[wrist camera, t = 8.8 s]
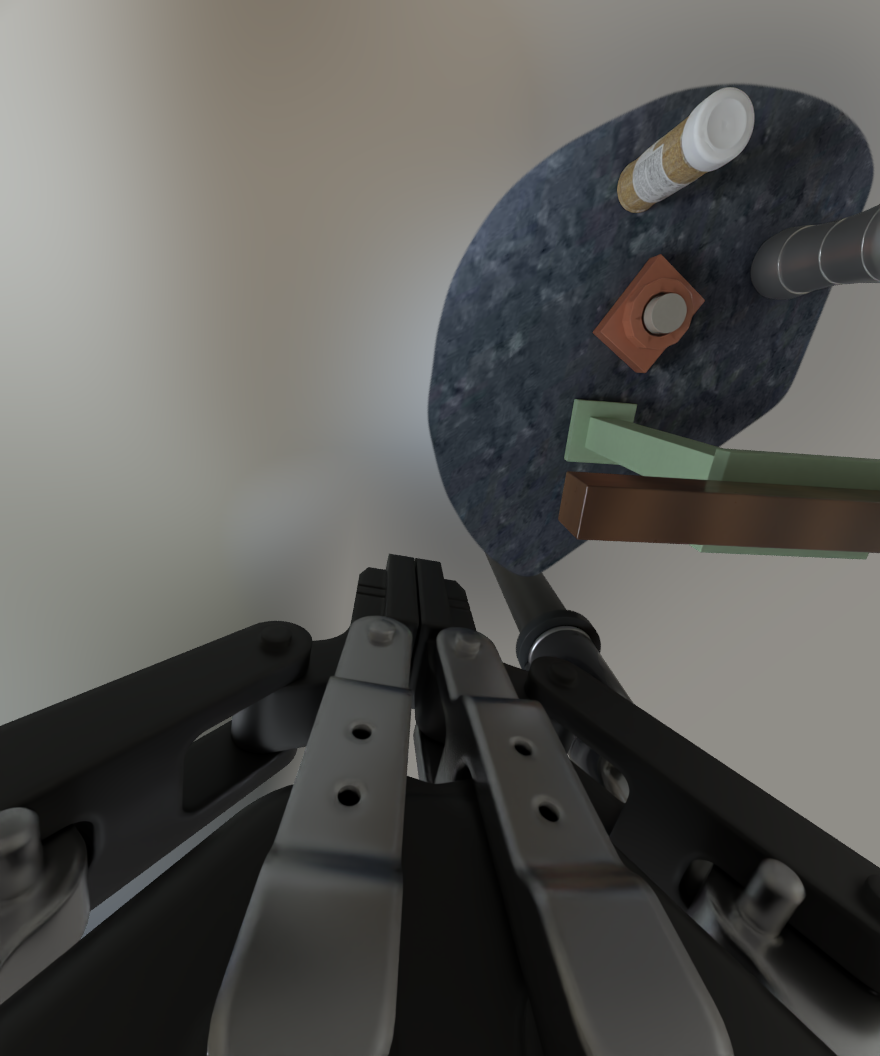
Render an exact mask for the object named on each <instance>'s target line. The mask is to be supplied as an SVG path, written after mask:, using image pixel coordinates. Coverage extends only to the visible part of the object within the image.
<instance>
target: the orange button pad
mask: <svg viewBox="0 0 880 1056" xmlns="http://www.w3.org/2000/svg"><path fill="white" fill-rule="evenodd" d="M668 293H675V294H678V295H680V296H681V297H682V298H683V299H684V301H685V303H686V307H687V313H686V317H685V320H684V322H683V323H682V325H681V326H680V327H679V328H678V329H676V330H675V331H673V332H670V333H663V334H654V333H651V332H650V331H648V330H647V329H646V327H645V325H644V322H643V314H644V310H645V308H646V306H647V304H648V303H649V302H650V301H651V300H652V299H653V298H655V297H657V296H660V295H664V294H668ZM704 301H705V300H704V299H703V298H702V296H701V295H700V294H699V293H698V292H697V291H696V290H695V289H694V288H693V287H692V286H691V285H690V284H689V283H688V282H687V281H686V280H685V279H684V278H683V277H682V276H681V275H680V274H679V273H678V271H677V270H676V269H675V268H674V267H673V266H672V265H671V264H670V263H669V262H668V261H667V260H666V259H665V258H664V257H663V256H662V255H661V254H660V255H657V256H655V257H652V258H650V259H649V260H648V261H647V263H646V264H645V265H644V267H643V268H642V269H641V270H640V272H639V273H638V274H637V276H636V277H635V278H634V279H633V281H632V282H631V283H630V285H629V286H628V287H627V288H626V290H625V291H624V292H623V294H622V295H621V296H620V298H619V299H618V300H617V301H616V303H615V304H614V305H613V307H612V308H611V309H610V310H609V312H608V313H607V314H606V316H605V317H604V318H603V320H602V321H601V322H600V323H599V325H598V326H597V327H596V329H595V330H594V331H593V334H594V335H596V336H597V337H598V338H599V339H600V340H601V341H602V342H603V343H604V344H605V345H607V346H608V347H609V348H610V349H611V350H612V351H613V352H614V353H615V354H616V355H617V356H619V357H620V358H621V359H622V360H623V361H624V362H625V363H626V364H627V365H628V366H629V367H631V368H632V369H633V370H634V371H635V372H638V373H646V372H647V371H648V369H649V368H650V367H651V366H652V364H653V363H654V362H655V361H656V360H657V358H658V357H659V356H660V355H661V354H662V352H663V351H664V350H665V349H666V347H668V346H670V345H673V344H675V343H676V342H678V341H679V339H680V338H681V337H682V336H683V335H684V333H685V332H686V331H687V330H688V329H689V326H690V322H691V318H692V316H693V315H694V313H695V312H696V311H697V310H698V309H699V307H700V306H701V305H702V304H703V303H704Z"/></svg>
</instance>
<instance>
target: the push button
mask: <svg viewBox="0 0 880 1056" xmlns="http://www.w3.org/2000/svg"><path fill="white" fill-rule="evenodd" d="M686 313H687V307H686V303H685V301H684V299H683V298H682V297H681V296H680V295H678V294H675V293H668V294H664V295H660V296H657V297H655V298H653V299H652V300H651V301H650V302H649V303H648V304H647V306H646V308H645V310H644V314H643V322H644V325H645V327H646V329H647V330H648V331H650V332H651V333H654V334H663V333H670V332H673V331H675V330H676V329H678V328H679V327H680V326H681V325H682V323H683V322H684V320H685V317H686Z"/></svg>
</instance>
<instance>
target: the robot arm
mask: <svg viewBox="0 0 880 1056" xmlns="http://www.w3.org/2000/svg"><path fill="white" fill-rule="evenodd" d="M524 666H525V669H526V670H523V669H520V668H517V667H513V666H511V665H508V664H506V663H503V662H502V660H501V658H500V656H499V653H498V651H497V649H496V647H495V645H494V644H493V642H492V641H491V640H490V639H489V638H488V637H486V636H485V635H483V634H481V633H479V632H477V631H476V628H475V624H474V621H473V617H472V613H471V611H470V606H469V603H468V599H467V596H466V592H465V590H464V589H463V588H462V587H461V586H460V585H459V584H458V583H457V582H456V581H453V580H447V579H444V577H443V572H442V567H441V563H440V562H437V561H430V560H425V559H418V558H415V561H414V558H412V557H407V556H400V555H393V554H389V556H388V561H387V566H386V570H383V569H377V568H370V567H368V568H367V569H366V570H364V571H363V572H362V573H361V574H360V575H359V581H358V586H357V592H356V598H355V603H354V609H353V614H352V620H351V625H350V627H349V628H348V630H347V631H346V632H344V633H343V634H341V635H339V636H337V637H334V638H331V639H327V640H319V641H312V637H311V635H310V634H309V632H307V631H306V630H305V629H304V628H302V627H301V626H298V625H296V624H293V623H290V622H284V621H268V622H262V623H258V624H255V625H252V626H250V627H247V628H245V629H242V630H240V631H237V632H235V633H232V634H230V635H227V636H225V637H222V638H220V639H217V640H215V641H212V642H210V643H207V644H205V645H203V646H200V647H197V648H195V649H192V650H190V651H187V652H185V653H182V654H180V655H177V656H175V657H172V658H170V659H167V660H164V661H162V662H160V663H157V664H154V665H152V666H150V667H147V668H144V669H142V670H139V671H137V672H135V673H132V674H129V675H127V676H124V677H122V678H120V679H117V680H114V681H112V682H109V683H107V684H104V685H102V686H99V687H97V688H94V689H92V690H89V691H87V692H84V693H82V694H80V695H77V696H74V697H72V698H70V699H67V700H64V701H62V702H59V703H57V704H54V705H52V706H49V707H47V708H44V709H42V710H39V711H37V712H34V713H32V714H29V715H27V716H24V717H22V718H19V719H17V720H14V721H12V722H9V723H7V724H4V725H2V726H0V1056H880V868H879V867H878V866H876V865H875V864H873V863H872V862H870V861H869V860H867V859H866V858H864V857H863V856H861V855H859V854H858V853H857V852H855V851H854V850H852V849H851V848H849V847H847V846H846V845H845V844H843V843H841V842H840V841H838V840H837V839H835V838H834V837H833V836H831V835H830V834H828V833H827V832H825V831H823V830H822V829H821V828H819V827H817V826H816V825H815V824H813V823H812V822H810V821H809V820H807V819H806V818H804V817H803V816H801V815H799V814H798V813H796V812H795V811H794V810H792V809H791V808H789V807H787V806H786V805H785V804H783V803H782V802H780V801H779V800H777V799H776V798H774V797H773V796H771V795H770V794H768V793H767V792H765V791H763V790H762V789H761V788H759V787H758V786H756V785H755V784H753V783H752V782H750V781H749V780H747V779H746V778H744V777H743V776H741V775H740V774H738V773H737V772H735V771H734V770H732V769H730V768H729V767H728V766H726V765H725V764H723V763H722V762H720V761H718V760H717V759H716V758H714V757H713V756H711V755H710V754H708V753H707V752H705V751H704V750H702V749H701V748H699V747H697V746H696V745H695V744H693V743H692V742H690V741H689V740H687V739H686V738H684V737H683V736H681V735H679V734H678V733H677V732H675V731H674V730H672V729H671V728H669V727H667V726H666V725H665V724H663V723H662V722H660V721H659V720H657V719H656V718H654V717H652V716H651V715H650V714H648V713H647V712H645V711H644V710H642V709H641V708H639V707H638V706H636V705H635V704H633V702H632V701H631V699H630V698H629V696H628V695H627V693H626V692H625V690H624V689H623V687H622V686H621V684H620V683H619V681H618V680H617V678H616V677H615V675H614V674H613V672H612V671H611V670H610V668H609V666H608V665H607V664H606V662H605V661H604V659H603V658H602V656H601V655H600V653H599V652H598V650H597V649H596V647H595V645H594V644H593V642H592V640H591V639H590V637H589V636H588V634H587V633H586V632H585V631H583V630H582V629H580V628H578V627H575V626H571V625H559V626H555V627H552V628H549V629H547V630H545V631H544V632H542V633H541V634H540V635H538V636H537V637H536V638H535V640H534V641H533V642H532V644H531V646H530V649H529V652H528V661H527V663H526V664H525V665H524ZM411 709H415V720H416V725H415V729H414V734H413V737H414V745H415V753H416V760H417V767H418V775H419V780H418V779H415V778H412V777H409V776H407V763H408V749H409V734H410V719H411ZM231 716H232V720H231V721H229V722H228V723H226V724H224V725H222V726H220V727H219V728H217V729H216V730H214V731H212V732H210V733H208V734H207V735H205V736H203V737H201V738H200V739H198V740H196V741H194V740H195V739H196V738H197V737H198V736H199V735H200V734H202V733H203V732H204V731H206V730H208V729H210V728H211V727H213V726H215V725H217V724H218V723H220V722H222V721H224V720H225V719H227V718H229V717H231ZM193 741H194V742H193ZM305 746H306V749H305V752H304V755H303V758H302V761H301V764H300V767H299V770H298V773H297V776H296V779H295V782H294V784H293V785H289V786H286V787H284V788H281V789H278V790H275V791H273V792H271V793H269V794H267V795H265V796H263V797H261V798H259V799H257V800H256V801H254V802H252V803H251V804H249V805H248V806H246V807H245V808H243V809H242V810H241V811H239V812H238V813H237V814H235V815H234V816H233V817H232V818H230V819H229V820H228V821H227V822H225V823H224V824H223V825H222V826H221V827H219V828H218V829H217V830H216V831H214V832H213V833H212V834H211V835H209V836H208V837H207V838H206V839H205V840H203V841H202V842H201V843H200V844H199V845H197V846H196V847H195V848H193V849H192V850H191V851H190V852H188V853H187V854H186V855H185V856H184V857H182V858H181V859H180V860H179V861H177V862H176V863H175V864H174V865H172V866H171V867H170V868H169V869H167V870H166V871H165V872H164V873H162V874H161V875H160V876H159V877H158V878H156V879H155V880H154V881H153V882H151V883H150V884H149V885H148V886H146V887H145V888H144V889H143V890H142V891H140V892H139V893H138V894H136V895H135V896H134V897H133V898H132V899H130V900H129V901H128V902H127V903H125V904H124V905H123V906H122V907H120V908H119V909H118V910H117V911H115V912H114V913H113V914H112V915H111V916H109V917H108V918H107V919H106V920H104V921H103V922H102V923H101V924H100V925H98V926H97V927H96V928H94V929H93V930H92V931H91V932H89V933H88V934H87V935H86V936H85V937H83V938H82V939H81V937H82V935H83V933H84V930H85V928H86V926H87V923H88V919H89V914H90V911H91V910H93V909H94V908H95V907H97V906H98V905H99V904H101V903H102V902H103V901H105V900H106V899H107V898H109V897H110V896H112V895H113V894H114V893H116V892H117V891H118V890H120V889H121V888H122V887H123V886H125V885H126V884H128V883H129V882H130V881H132V880H133V879H134V878H136V877H137V876H138V875H140V874H141V873H143V872H144V871H145V870H147V869H148V868H149V867H151V866H152V865H153V864H154V863H156V862H157V861H158V860H160V859H161V858H162V857H164V856H165V855H167V854H168V853H170V852H171V851H172V850H173V849H175V848H176V847H177V846H179V845H180V844H182V843H183V842H184V841H186V840H187V839H188V838H190V837H191V836H192V835H194V834H195V833H196V832H198V831H199V830H200V829H202V828H203V827H204V826H206V825H207V824H209V823H210V822H211V821H213V820H214V819H215V818H217V817H218V816H219V815H221V814H222V813H223V812H225V811H226V810H227V809H229V808H230V807H231V806H233V805H234V804H236V803H237V802H238V801H239V800H241V799H242V798H244V797H245V796H246V795H248V794H249V793H250V792H252V791H253V790H254V789H256V788H257V787H258V786H260V785H261V784H262V783H264V782H265V781H267V780H268V779H269V778H271V777H272V776H273V775H275V774H276V773H277V772H279V771H280V770H281V769H283V768H284V767H285V766H287V765H288V764H289V763H290V762H291V761H292V759H293V758H294V756H295V754H296V751H297V748H299V747H305ZM567 754H568V755H569V757H570V759H569V757H568V755H567ZM80 939H81V940H80ZM79 940H80V941H79Z"/></svg>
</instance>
